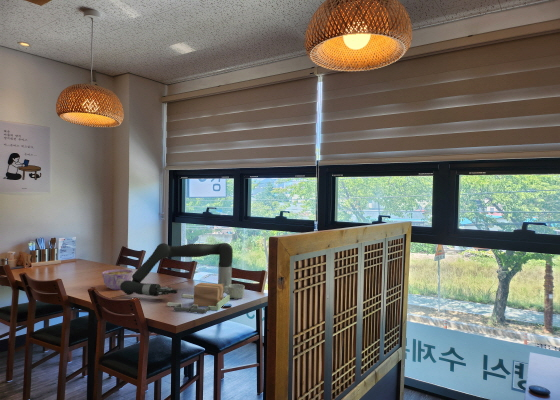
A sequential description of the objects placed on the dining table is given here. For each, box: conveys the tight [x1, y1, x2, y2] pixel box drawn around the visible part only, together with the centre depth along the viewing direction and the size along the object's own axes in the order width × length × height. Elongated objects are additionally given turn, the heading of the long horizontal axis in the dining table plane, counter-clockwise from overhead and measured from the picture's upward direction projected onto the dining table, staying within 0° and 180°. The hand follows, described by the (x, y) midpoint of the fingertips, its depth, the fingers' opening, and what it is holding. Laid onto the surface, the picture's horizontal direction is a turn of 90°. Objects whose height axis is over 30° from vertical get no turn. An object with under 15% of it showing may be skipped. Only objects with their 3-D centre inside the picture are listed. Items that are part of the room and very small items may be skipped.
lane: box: [166, 293, 231, 314], centre depth 233 cm, size 28×32×4 cm
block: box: [193, 282, 224, 308], centre depth 236 cm, size 10×15×12 cm, turn 79°
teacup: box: [223, 283, 246, 300], centre depth 252 cm, size 14×11×8 cm
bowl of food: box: [101, 268, 134, 291], centre depth 269 cm, size 20×20×12 cm
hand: (176, 291), depth 240 cm, fingers closed
